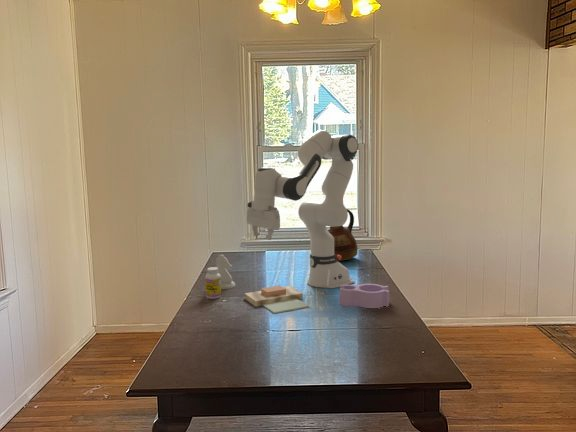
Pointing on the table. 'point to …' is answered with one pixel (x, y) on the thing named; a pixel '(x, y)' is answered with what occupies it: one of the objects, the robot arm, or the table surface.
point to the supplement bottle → (213, 283)
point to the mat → (285, 305)
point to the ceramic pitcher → (344, 240)
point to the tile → (273, 291)
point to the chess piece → (224, 272)
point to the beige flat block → (261, 299)
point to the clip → (364, 295)
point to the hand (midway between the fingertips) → (262, 237)
